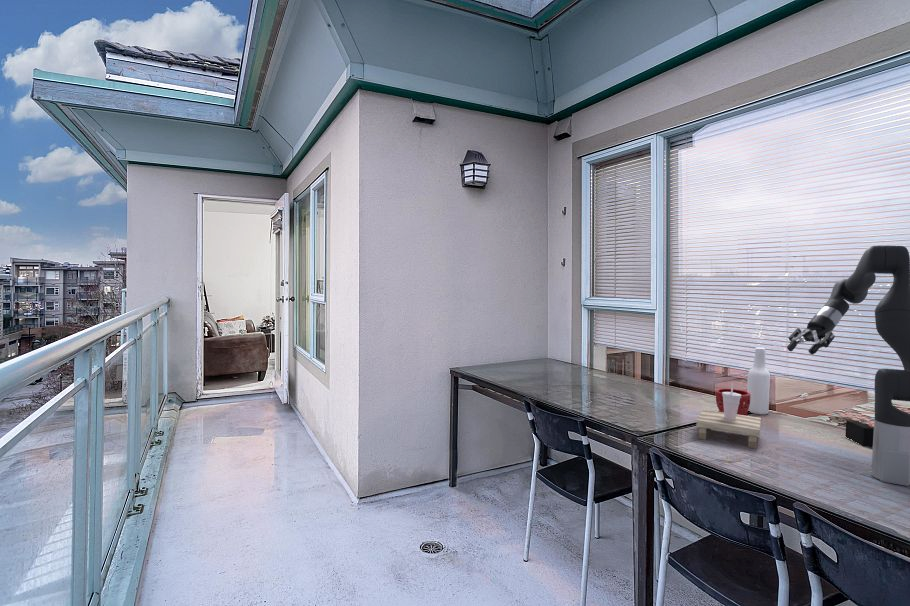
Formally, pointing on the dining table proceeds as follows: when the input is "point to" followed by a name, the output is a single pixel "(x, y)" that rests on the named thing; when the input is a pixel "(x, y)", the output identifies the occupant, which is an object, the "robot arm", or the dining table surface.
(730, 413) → the smoothie
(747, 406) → the plant pot
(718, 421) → the low wooden platform
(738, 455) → the dining table surface
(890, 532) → the dining table surface
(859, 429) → the digital camera
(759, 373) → the alcohol
